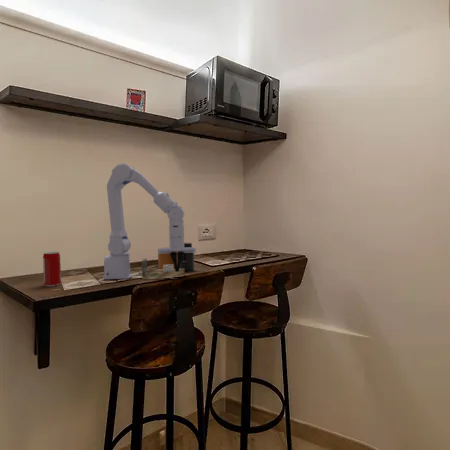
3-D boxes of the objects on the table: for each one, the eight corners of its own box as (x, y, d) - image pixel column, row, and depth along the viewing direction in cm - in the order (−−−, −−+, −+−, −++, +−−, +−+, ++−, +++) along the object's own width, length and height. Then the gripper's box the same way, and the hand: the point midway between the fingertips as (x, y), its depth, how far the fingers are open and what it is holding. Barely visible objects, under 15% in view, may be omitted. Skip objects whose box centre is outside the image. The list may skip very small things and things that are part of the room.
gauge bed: (142, 279, 134) (141, 261, 134) (143, 276, 141) (143, 258, 141) (184, 277, 136) (184, 259, 136) (184, 274, 143) (184, 257, 143)
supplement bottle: (179, 272, 149) (178, 244, 148) (177, 270, 155) (176, 242, 155) (195, 271, 151) (195, 243, 150) (192, 269, 157) (192, 242, 157)
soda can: (63, 284, 127) (62, 251, 127) (47, 287, 123) (46, 252, 123) (57, 282, 131) (56, 250, 130) (41, 285, 127) (40, 251, 126)
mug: (171, 271, 154) (170, 250, 153) (154, 268, 162) (153, 248, 161) (186, 268, 160) (186, 248, 160) (170, 265, 168) (169, 246, 168)
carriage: (163, 275, 137) (162, 266, 137) (163, 273, 141) (163, 264, 141) (173, 274, 137) (173, 265, 137) (173, 272, 142) (173, 264, 141)
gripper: (157, 238, 134) (158, 273, 135) (195, 237, 136) (196, 272, 137) (158, 236, 141) (159, 270, 142) (194, 236, 143) (195, 269, 144)
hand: (177, 271), depth 140 cm, fingers closed
